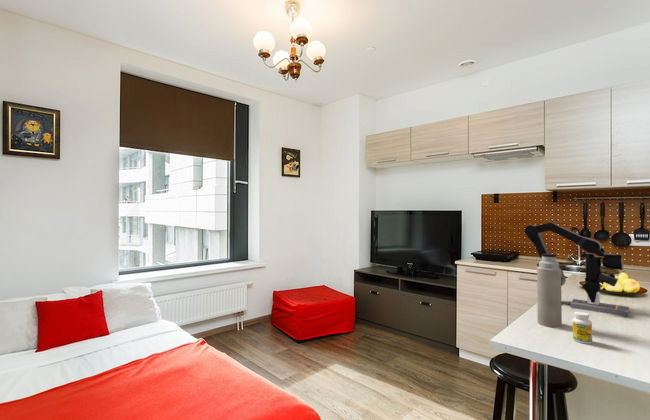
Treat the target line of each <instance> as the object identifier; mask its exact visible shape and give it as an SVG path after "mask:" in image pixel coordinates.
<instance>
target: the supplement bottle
mask: <svg viewBox="0 0 650 420" xmlns="http://www.w3.org/2000/svg"><path fill="white" fill-rule="evenodd" d="M571 323H572V340H573V341H575V342H576V343H580V344H584V345H585V344H587V345H588V344H592V343H593V324H592V323H593V322H592V321H591V319H590V313H588V312H583V311H575V312H574V318H572V322H571Z"/></svg>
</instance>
